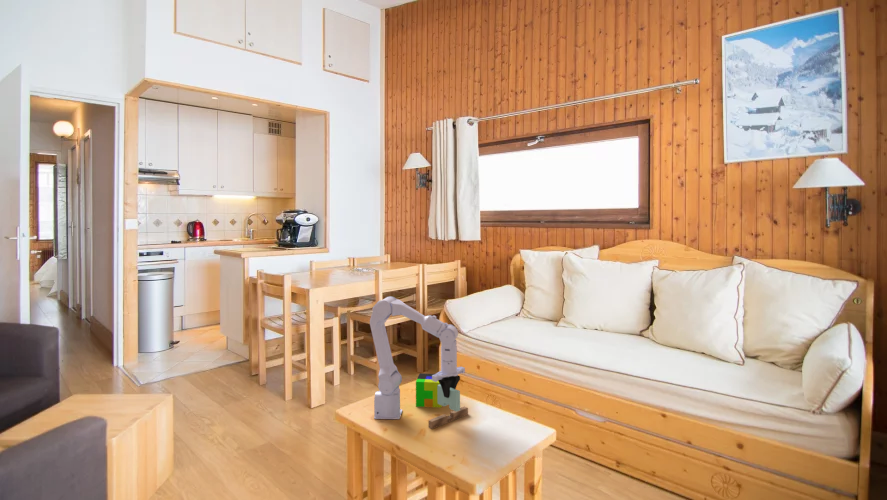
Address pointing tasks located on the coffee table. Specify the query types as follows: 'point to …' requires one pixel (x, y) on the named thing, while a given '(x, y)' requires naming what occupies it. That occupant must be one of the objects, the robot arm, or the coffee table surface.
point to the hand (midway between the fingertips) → (448, 396)
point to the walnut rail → (447, 417)
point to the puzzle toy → (426, 391)
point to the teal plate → (452, 400)
